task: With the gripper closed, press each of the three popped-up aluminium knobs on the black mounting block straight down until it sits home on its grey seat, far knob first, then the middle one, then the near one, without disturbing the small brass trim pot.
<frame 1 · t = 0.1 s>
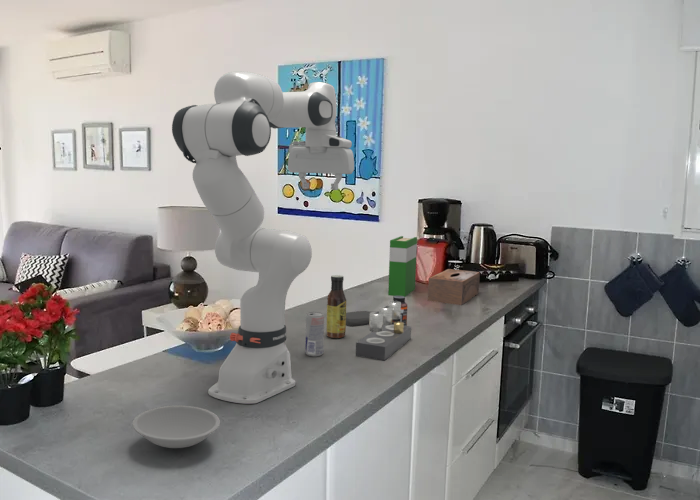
hand: (319, 189, 169), 48 cm above the worktop, tool pointing down, fingers open, 8 cm apart
knob mid: (385, 315, 176), point 10 cm above the worktop, slide at 3.0 cm
tissue box cover: (453, 298, 250), on the worktop
hardback book: (401, 292, 257), on the worktop
knob far: (394, 309, 184), point 10 cm above the worktop, slide at 3.0 cm
sauce bottle: (335, 336, 188), on the worktop
dish: (177, 446, 113), on the worktop
mount: (384, 346, 178), on the worktop
spray bottle: (370, 321, 210), on the worktop
knob near: (376, 321, 169), point 10 cm above the worktop, slide at 3.0 cm
trim pot: (398, 332, 180), point 4 cm above the worktop, touching mount
supplement bottle: (397, 329, 198), on the worktop
energy drink: (314, 354, 170), on the worktop
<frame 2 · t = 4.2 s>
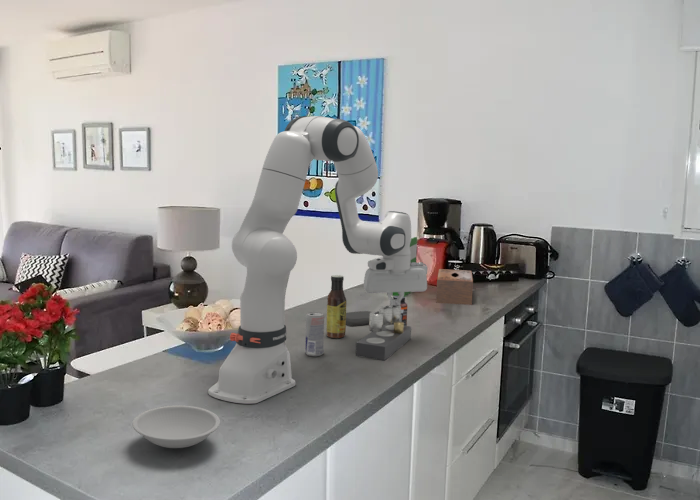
hand: (395, 305, 183), 11 cm above the worktop, tool pointing down, fingers closed
knob far: (394, 313, 184), point 9 cm above the worktop, slide at 1.7 cm, touching gripper
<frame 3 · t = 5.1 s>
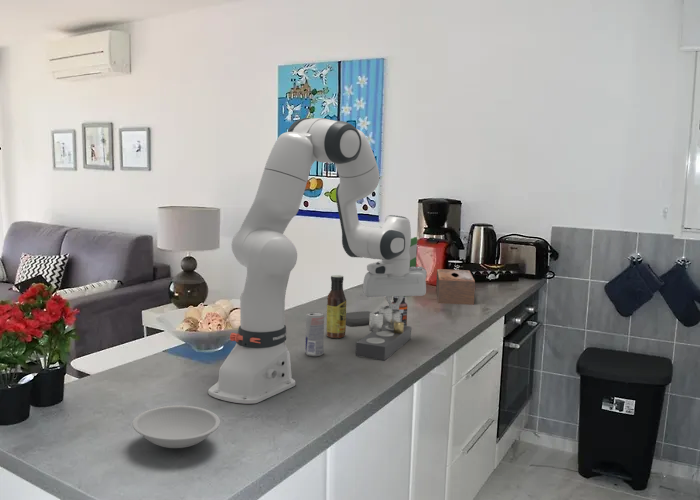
hand: (393, 309, 184), 10 cm above the worktop, tool pointing down, fingers closed
knob far: (394, 319, 184), point 7 cm above the worktop, slide at -0.1 cm, touching mount
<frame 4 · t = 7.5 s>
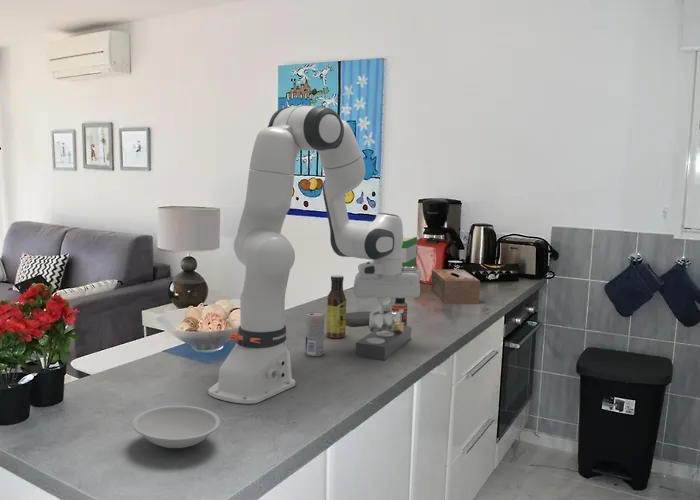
hand: (386, 311, 176), 11 cm above the worktop, tool pointing down, fingers closed
knob mid: (385, 319, 177), point 9 cm above the worktop, slide at 1.6 cm, touching gripper
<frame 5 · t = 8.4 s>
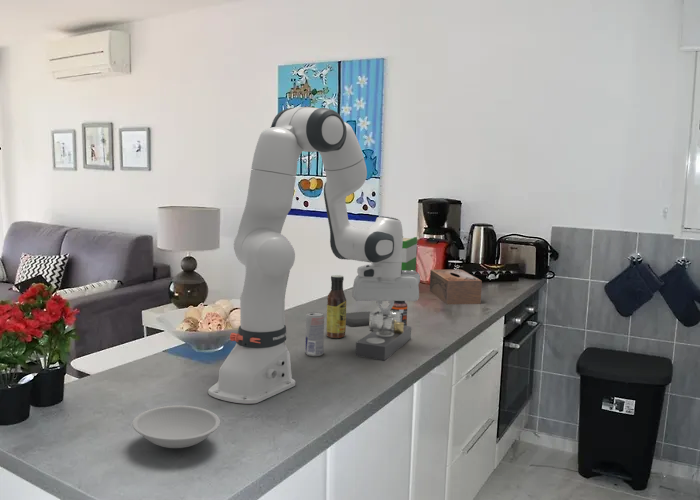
hand: (384, 314, 176), 10 cm above the worktop, tool pointing down, fingers closed
knob mid: (385, 325, 177), point 7 cm above the worktop, slide at -0.1 cm, touching mount
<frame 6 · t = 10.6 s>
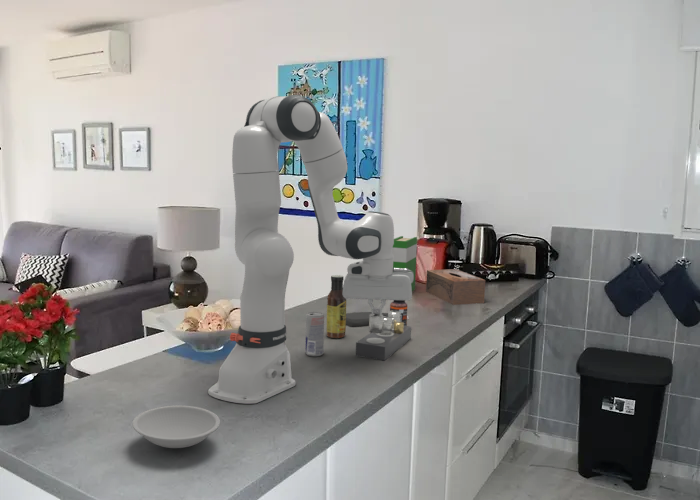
hand: (376, 314, 169), 12 cm above the worktop, tool pointing down, fingers closed
knob near: (376, 322, 169), point 9 cm above the worktop, slide at 2.6 cm, touching gripper
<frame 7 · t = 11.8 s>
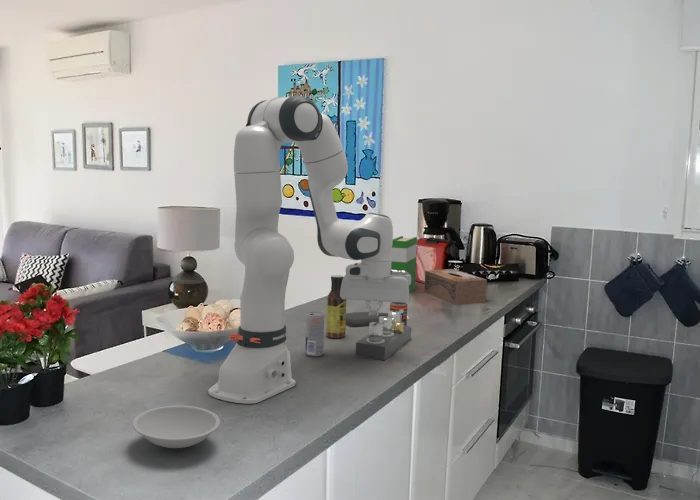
hand: (373, 315, 169), 12 cm above the worktop, tool pointing down, fingers closed
knob near: (375, 331, 170), point 7 cm above the worktop, slide at -0.1 cm, touching mount
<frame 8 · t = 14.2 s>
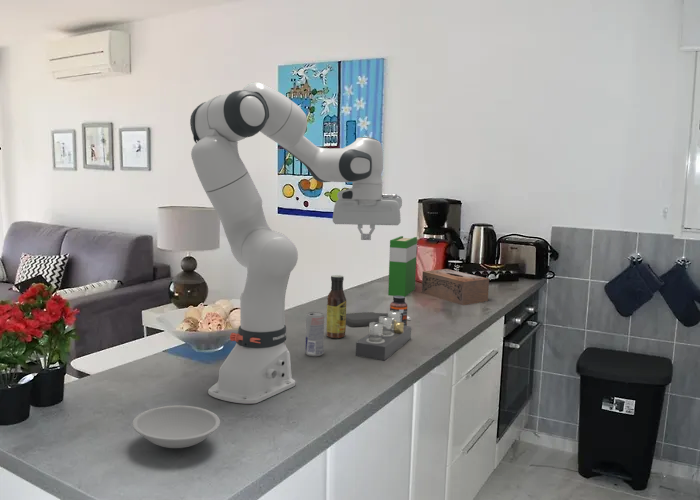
hand: (365, 239, 173), 33 cm above the worktop, tool pointing down, fingers closed
at the end: knob far slide at -0.1 cm; knob mid slide at -0.1 cm; knob near slide at -0.1 cm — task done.
